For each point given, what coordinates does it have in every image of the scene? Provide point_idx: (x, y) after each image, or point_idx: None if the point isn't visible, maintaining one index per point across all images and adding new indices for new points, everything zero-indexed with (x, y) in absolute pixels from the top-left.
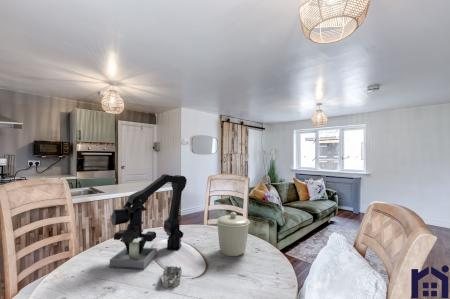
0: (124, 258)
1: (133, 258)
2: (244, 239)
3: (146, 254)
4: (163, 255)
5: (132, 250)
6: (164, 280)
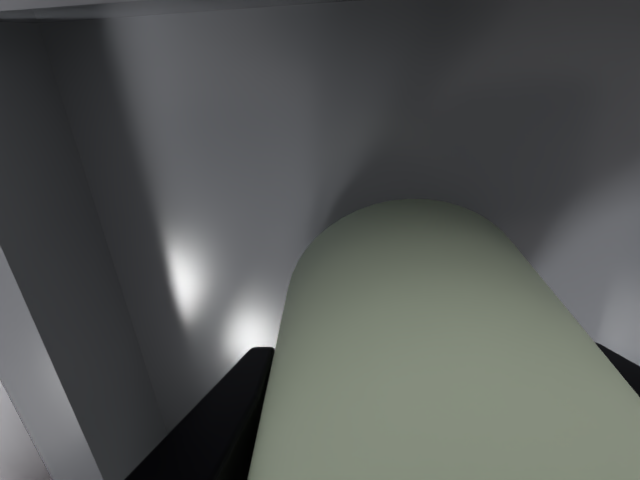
0: (628, 281)
1: (373, 211)
2: None
3: None
4: None
5: (459, 349)
6: None
